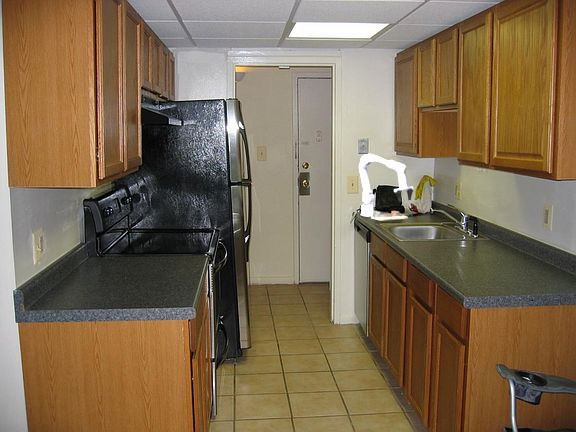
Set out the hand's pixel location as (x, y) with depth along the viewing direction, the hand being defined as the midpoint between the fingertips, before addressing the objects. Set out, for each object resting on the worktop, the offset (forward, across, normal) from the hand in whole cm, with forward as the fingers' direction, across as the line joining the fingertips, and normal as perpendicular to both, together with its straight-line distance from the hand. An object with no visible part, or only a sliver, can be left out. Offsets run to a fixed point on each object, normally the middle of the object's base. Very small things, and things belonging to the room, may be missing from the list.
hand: (405, 200), depth 439 cm
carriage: (+10, -6, +2) cm, 12 cm away
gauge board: (+10, -13, +3) cm, 16 cm away
